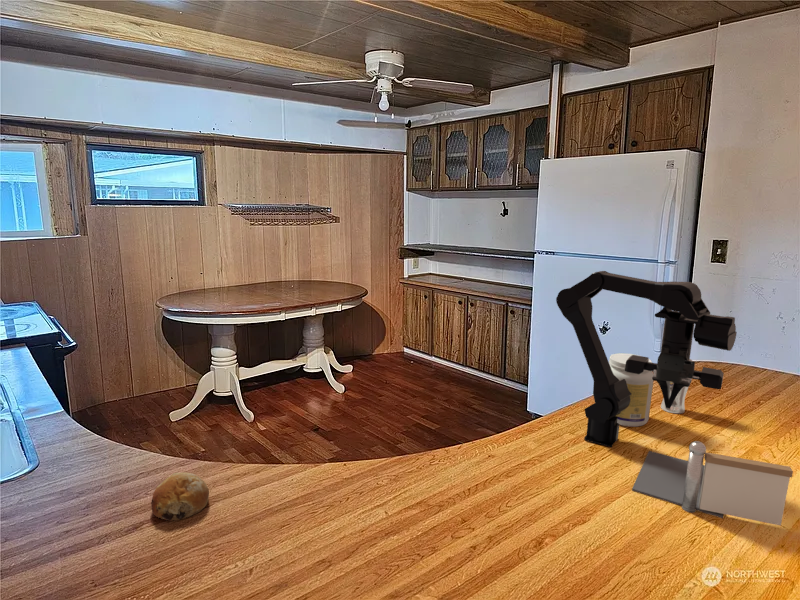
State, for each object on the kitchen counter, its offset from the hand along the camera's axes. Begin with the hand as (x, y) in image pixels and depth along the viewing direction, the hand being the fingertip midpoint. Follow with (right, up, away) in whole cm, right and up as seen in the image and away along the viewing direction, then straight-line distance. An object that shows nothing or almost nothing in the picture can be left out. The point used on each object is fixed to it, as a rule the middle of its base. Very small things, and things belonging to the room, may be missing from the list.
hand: (668, 407), depth 116 cm
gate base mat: (0, -14, -6) cm, 16 cm away
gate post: (-4, -16, -15) cm, 23 cm away
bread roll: (-101, -15, -18) cm, 104 cm away
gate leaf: (+4, -16, -19) cm, 25 cm away
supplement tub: (+1, -8, +26) cm, 27 cm away
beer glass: (+18, -7, +32) cm, 37 cm away
